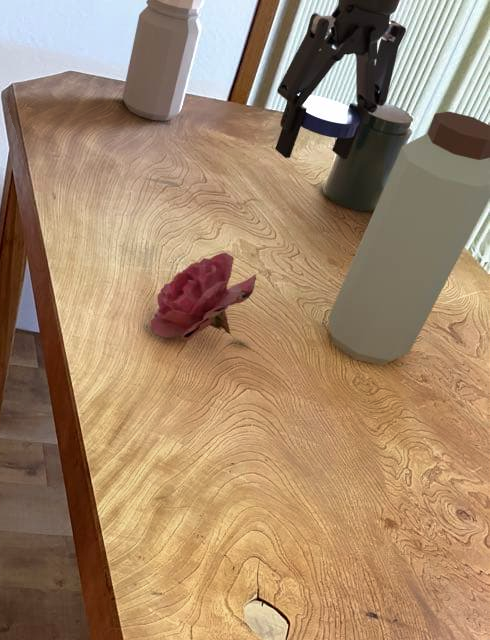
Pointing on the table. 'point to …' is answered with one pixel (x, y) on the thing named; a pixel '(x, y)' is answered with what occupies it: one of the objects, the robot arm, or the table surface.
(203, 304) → the flower
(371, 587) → the table surface
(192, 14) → the jar
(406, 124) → the spice jar
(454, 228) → the water bottle
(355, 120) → the lid
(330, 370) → the table surface
